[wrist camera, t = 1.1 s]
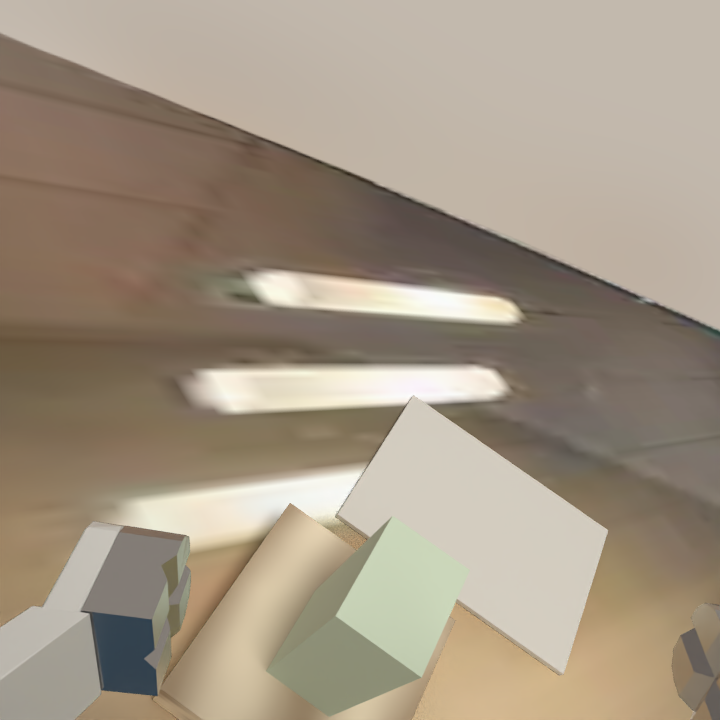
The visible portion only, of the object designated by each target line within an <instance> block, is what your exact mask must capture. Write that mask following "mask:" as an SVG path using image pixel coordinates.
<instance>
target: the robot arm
mask: <svg viewBox="0 0 720 720" xmlns="http://www.w3.org/2000/svg"><path fill="white" fill-rule="evenodd" d="M189 553H190V542H189V536H186V535H181V534H174V533H168V532H162V531H156V530H149V529H143V528H137V527H130V526H122V525H115V524H109V523H102V522H95V521H93V522H92V523H91V524H90V525H89V526H88V527H87V528H86V529H85V530H84V532H83V534H82V536H81V537H80V539H79V541H78V543H77V545H76V546H75V548H74V550H73V552H72V554H71V555H70V557H69V559H68V561H67V563H66V565H65V566H64V568H63V570H62V572H61V574H60V575H59V577H58V579H57V581H56V583H55V584H54V586H53V588H52V590H51V592H50V594H49V595H48V597H47V599H46V601H45V603H44V604H43V606H42V607H39V606H31V607H30V608H28V609H27V610H25V611H24V612H22V613H21V614H19V615H18V616H16V617H15V618H13V619H12V620H10V621H9V622H7V623H6V624H4V625H3V626H1V627H0V720H75V719H76V718H77V717H78V716H79V715H80V714H81V713H82V712H83V711H84V710H85V709H86V708H87V707H88V706H89V705H90V704H92V703H93V702H94V701H95V700H96V699H97V698H98V697H99V696H100V695H101V690H103V691H113V692H122V693H132V694H142V695H152V696H158V694H159V691H160V688H161V685H162V682H163V680H164V677H165V674H166V671H167V668H168V665H169V662H170V659H171V637H172V636H174V635H175V634H176V633H177V632H179V631H180V629H181V626H182V623H183V620H184V616H185V613H186V608H187V604H188V599H189V594H190V584H191V571H190V569H189V568H188V567H187V566H186V562H187V559H188V556H189ZM691 619H692V622H693V624H694V627H695V628H694V629H692V630H690V631H688V632H686V633H684V634H682V635H680V637H679V639H678V641H677V643H676V645H675V647H674V649H673V658H672V672H673V679H674V683H675V686H676V689H677V692H678V695H679V697H680V698H681V699H682V700H683V701H684V702H685V703H686V704H687V705H688V706H689V707H690V708H691V709H692V710H693V711H694V712H693V714H692V717H691V719H690V720H720V605H716V604H708V603H704V604H702V605H701V606H699V607H697V608H696V610H695V612H694V613H693V615H692V617H691Z"/></svg>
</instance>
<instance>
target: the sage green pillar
mask: <svg viewBox="0 0 720 720" xmlns="http://www.w3.org/2000/svg"><path fill="white" fill-rule="evenodd" d="M469 571H470V570H469V569H468V568H466V567H465V566H463V565H462V564H461V563H459V562H458V561H456V560H455V559H454V558H452V557H451V556H449V555H448V554H446V553H445V552H444V551H442V550H441V549H439V548H438V547H437V546H435V545H434V544H432V543H431V542H429V541H428V540H427V539H425V538H424V537H422V536H421V535H420V534H418V533H417V532H415V531H414V530H412V529H411V528H410V527H408V526H407V525H405V524H404V523H402V522H401V521H400V520H398V519H397V518H395V517H394V516H392V517H391V518H390V519H389V520H388V521H387V522H386V523H384V524H383V525H382V526H381V527H380V528H379V529H378V530H377V531H376V532H375V533H374V534H373V535H372V536H371V537H370V538H369V539H368V540H367V541H366V542H365V543H364V544H363V545H362V546H361V547H360V548H359V549H358V550H357V551H356V552H355V553H353V554H352V555H351V556H350V557H349V558H348V559H347V560H346V561H345V562H344V563H343V564H342V565H341V566H340V567H339V568H338V569H337V570H336V571H335V572H334V573H333V574H332V575H331V576H330V577H329V578H328V579H327V580H326V581H325V582H324V583H322V584H321V585H320V586H319V587H318V588H317V589H316V590H315V592H314V593H313V595H312V596H311V598H310V600H309V601H308V603H307V605H306V606H305V608H304V610H303V611H302V613H301V615H300V616H299V618H298V619H297V621H296V623H295V624H294V626H293V628H292V629H291V631H290V633H289V634H288V636H287V638H286V639H285V641H284V642H283V644H282V646H281V647H280V649H279V651H278V652H277V654H276V656H275V657H274V659H273V661H272V662H271V664H270V666H269V667H268V669H267V670H266V672H267V673H269V674H270V675H272V676H273V677H274V678H276V679H277V680H279V681H280V682H281V683H283V684H284V685H285V686H287V687H288V688H290V689H291V690H292V691H294V692H295V693H297V694H298V695H299V696H301V697H302V698H303V699H305V700H306V701H308V702H309V703H310V704H312V705H313V706H314V707H316V708H317V709H319V710H320V711H321V712H323V713H324V714H326V715H327V716H328V717H330V716H333V715H335V714H337V713H340V712H342V711H344V710H347V709H349V708H351V707H354V706H356V705H358V704H361V703H363V702H365V701H368V700H370V699H373V698H375V697H377V696H380V695H382V694H384V693H387V692H389V691H391V690H394V689H396V688H398V687H401V686H403V685H405V684H408V683H410V682H413V681H415V680H417V679H420V678H422V676H423V673H424V671H425V669H426V667H427V665H428V662H429V660H430V658H431V656H432V653H433V651H434V649H435V647H436V645H437V642H438V640H439V638H440V636H441V633H442V631H443V629H444V627H445V625H446V622H447V620H448V618H449V616H450V613H451V611H452V609H453V607H454V605H455V602H456V600H457V598H458V596H459V593H460V591H461V589H462V587H463V585H464V582H465V580H466V578H467V576H468V573H469Z"/></svg>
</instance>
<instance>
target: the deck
mask: <svg viewBox="0 0 720 720" xmlns="http://www.w3.org/2000/svg"><path fill="white" fill-rule="evenodd" d="M356 551H357V550H356V549H354V548H353V547H352V546H350V545H349V544H347V543H346V542H344V541H343V540H342V539H340V538H339V537H337V536H336V535H335V534H333V533H332V532H330V531H329V530H328V529H326V528H325V527H323V526H322V525H321V524H319V523H318V522H316V521H315V520H313V519H312V518H311V517H309V516H308V515H306V514H305V513H304V512H302V511H301V510H299V509H298V508H297V507H295V506H294V505H292V504H291V503H290V504H289V505H288V507H287V508H286V509H285V511H284V512H283V514H282V515H281V517H280V518H279V519H278V521H277V522H276V524H275V525H274V526H273V528H272V529H271V531H270V532H269V534H268V535H267V536H266V538H265V539H264V541H263V542H262V544H261V545H260V546H259V548H258V549H257V551H256V552H255V554H254V555H253V556H252V558H251V559H250V561H249V562H248V563H247V565H246V566H245V568H244V569H243V571H242V572H241V573H240V575H239V576H238V578H237V579H236V581H235V582H234V583H233V585H232V586H231V588H230V589H229V591H228V592H227V593H226V595H225V596H224V598H223V599H222V601H221V602H220V603H219V605H218V606H217V608H216V609H215V610H214V612H213V613H212V615H211V616H210V618H209V619H208V620H207V622H206V623H205V625H204V626H203V628H202V629H201V630H200V632H199V633H198V635H197V636H196V638H195V639H194V640H193V642H192V643H191V645H190V646H189V647H188V649H187V650H186V652H185V653H184V655H183V656H182V657H181V659H180V660H179V662H178V663H177V665H176V666H175V667H174V669H173V670H172V672H171V673H170V675H169V676H168V677H167V679H166V680H165V682H164V683H163V684H162V686H161V688H160V691H159V694H158V696H155V697H154V698H153V701H154V702H156V703H157V704H159V705H160V706H161V707H163V708H164V709H165V710H167V711H168V712H169V713H171V714H172V715H174V716H175V717H176V718H178V719H179V720H412V718H413V716H414V714H415V711H416V709H417V707H418V705H419V702H420V700H421V698H422V695H423V693H424V691H425V689H426V686H427V684H428V682H429V680H430V677H431V675H432V673H433V671H434V668H435V666H436V664H437V661H438V659H439V657H440V655H441V652H442V650H443V648H444V646H445V643H446V641H447V639H448V637H449V634H450V632H451V630H452V628H453V625H454V623H455V621H456V620H454V619H453V618H452V617H450V616H449V618H448V620H447V622H446V625H445V627H444V629H443V631H442V633H441V636H440V638H439V640H438V642H437V645H436V647H435V649H434V651H433V653H432V656H431V658H430V660H429V662H428V665H427V667H426V669H425V671H424V673H423V676H422V678H420V679H417V680H415V681H413V682H410V683H408V684H405V685H403V686H401V687H398V688H396V689H394V690H391V691H389V692H387V693H384V694H382V695H380V696H377V697H375V698H373V699H370V700H368V701H365V702H363V703H361V704H358V705H356V706H354V707H351V708H349V709H347V710H344V711H342V712H340V713H337V714H335V715H333V716H330V717H328V716H327V715H326V714H324V713H323V712H321V711H320V710H319V709H317V708H316V707H314V706H313V705H312V704H310V703H309V702H308V701H306V700H305V699H303V698H302V697H301V696H299V695H298V694H297V693H295V692H294V691H292V690H291V689H290V688H288V687H287V686H285V685H284V684H283V683H281V682H280V681H279V680H277V679H276V678H274V677H273V676H272V675H270V674H269V673H267V672H266V670H267V669H268V667H269V666H270V664H271V662H272V661H273V659H274V657H275V656H276V654H277V652H278V651H279V649H280V647H281V646H282V644H283V642H284V641H285V639H286V638H287V636H288V634H289V633H290V631H291V629H292V628H293V626H294V624H295V623H296V621H297V619H298V618H299V616H300V615H301V613H302V611H303V610H304V608H305V606H306V605H307V603H308V601H309V600H310V598H311V596H312V595H313V593H314V592H315V590H316V589H317V588H318V587H319V586H320V585H321V584H322V583H324V582H325V581H326V580H327V579H328V578H329V577H330V576H331V575H332V574H333V573H334V572H335V571H336V570H337V569H338V568H339V567H340V566H341V565H342V564H343V563H344V562H345V561H346V560H347V559H348V558H349V557H350V556H351V555H352V554H353V553H355V552H356Z"/></svg>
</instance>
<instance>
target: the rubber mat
mask: <svg viewBox="0 0 720 720" xmlns="http://www.w3.org/2000/svg"><path fill="white" fill-rule="evenodd" d="M392 516H394V517H395V518H397V519H398V520H400V521H401V522H402V523H404V524H405V525H407V526H408V527H410V528H411V529H412V530H414V531H415V532H417V533H418V534H420V535H421V536H422V537H424V538H425V539H427V540H428V541H429V542H431V543H432V544H434V545H435V546H437V547H438V548H439V549H441V550H442V551H444V552H445V553H446V554H448V555H449V556H451V557H452V558H454V559H455V560H456V561H458V562H459V563H461V564H462V565H463V566H465V567H466V568H468V569H469V570H470V571H469V573H468V576H467V578H466V580H465V582H464V585H463V587H462V589H461V591H460V593H459V596H458V598H457V600H456V603H458V604H459V605H461V606H462V607H463V608H465V609H466V610H468V611H469V612H470V613H472V614H473V615H475V616H476V617H478V618H479V619H480V620H482V621H483V622H485V623H486V624H487V625H489V626H490V627H492V628H493V629H494V630H496V631H497V632H499V633H500V634H502V635H503V636H504V637H506V638H507V639H509V640H510V641H511V642H513V643H514V644H516V645H517V646H518V647H520V648H521V649H523V650H524V651H526V652H527V653H528V654H530V655H531V656H533V657H534V658H535V659H537V660H538V661H540V662H541V663H542V664H544V665H545V666H547V667H548V668H550V669H551V670H552V671H554V672H555V673H557V674H558V675H562V674H564V671H565V668H566V665H567V662H568V658H569V655H570V652H571V649H572V645H573V642H574V639H575V636H576V633H577V629H578V626H579V623H580V620H581V616H582V613H583V610H584V607H585V604H586V600H587V597H588V594H589V591H590V587H591V584H592V581H593V578H594V575H595V571H596V568H597V565H598V562H599V558H600V555H601V552H602V549H603V546H604V542H605V539H606V536H607V533H608V530H607V529H605V528H604V527H602V526H601V525H600V524H598V523H597V522H595V521H594V520H592V519H591V518H589V517H588V516H587V515H585V514H584V513H582V512H581V511H579V510H578V509H577V508H575V507H574V506H572V505H571V504H569V503H568V502H566V501H565V500H564V499H562V498H561V497H559V496H558V495H556V494H555V493H554V492H552V491H551V490H549V489H548V488H546V487H545V486H543V485H542V484H541V483H539V482H538V481H536V480H535V479H533V478H532V477H530V476H529V475H528V474H526V473H525V472H523V471H522V470H520V469H519V468H518V467H516V466H515V465H513V464H512V463H510V462H509V461H507V460H506V459H505V458H503V457H502V456H500V455H499V454H497V453H496V452H494V451H493V450H492V449H490V448H489V447H487V446H486V445H484V444H483V443H482V442H480V441H479V440H477V439H476V438H474V437H473V436H471V435H470V434H469V433H467V432H466V431H464V430H463V429H461V428H460V427H459V426H457V425H456V424H454V423H453V422H451V421H450V420H448V419H447V418H446V417H444V416H443V415H441V414H440V413H438V412H437V411H435V410H434V409H433V408H431V407H430V406H428V405H427V404H425V403H424V402H423V401H421V400H420V399H418V398H417V397H415V396H414V395H413V397H412V398H411V399H410V401H409V402H408V404H407V406H406V407H405V409H404V410H403V412H402V413H401V415H400V417H399V418H398V420H397V421H396V423H395V424H394V426H393V428H392V429H391V431H390V432H389V434H388V435H387V437H386V439H385V440H384V442H383V443H382V445H381V446H380V448H379V450H378V451H377V453H376V454H375V456H374V457H373V459H372V461H371V462H370V464H369V465H368V467H367V468H366V470H365V472H364V473H363V475H362V476H361V478H360V479H359V481H358V482H357V484H356V486H355V487H354V489H353V490H352V492H351V493H350V495H349V497H348V498H347V500H346V501H345V503H344V504H343V506H342V508H341V509H340V511H339V512H338V514H337V515H336V518H338V519H339V520H341V521H342V522H343V523H345V524H346V525H348V526H349V527H350V528H352V529H353V530H355V531H356V532H357V533H359V534H360V535H362V536H363V537H365V538H366V539H367V540H368V539H369V538H370V537H371V536H372V535H373V534H374V533H375V532H376V531H377V530H378V529H379V528H380V527H381V526H382V525H383V524H384V523H386V522H387V521H388V520H389V519H390V518H391V517H392Z"/></svg>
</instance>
